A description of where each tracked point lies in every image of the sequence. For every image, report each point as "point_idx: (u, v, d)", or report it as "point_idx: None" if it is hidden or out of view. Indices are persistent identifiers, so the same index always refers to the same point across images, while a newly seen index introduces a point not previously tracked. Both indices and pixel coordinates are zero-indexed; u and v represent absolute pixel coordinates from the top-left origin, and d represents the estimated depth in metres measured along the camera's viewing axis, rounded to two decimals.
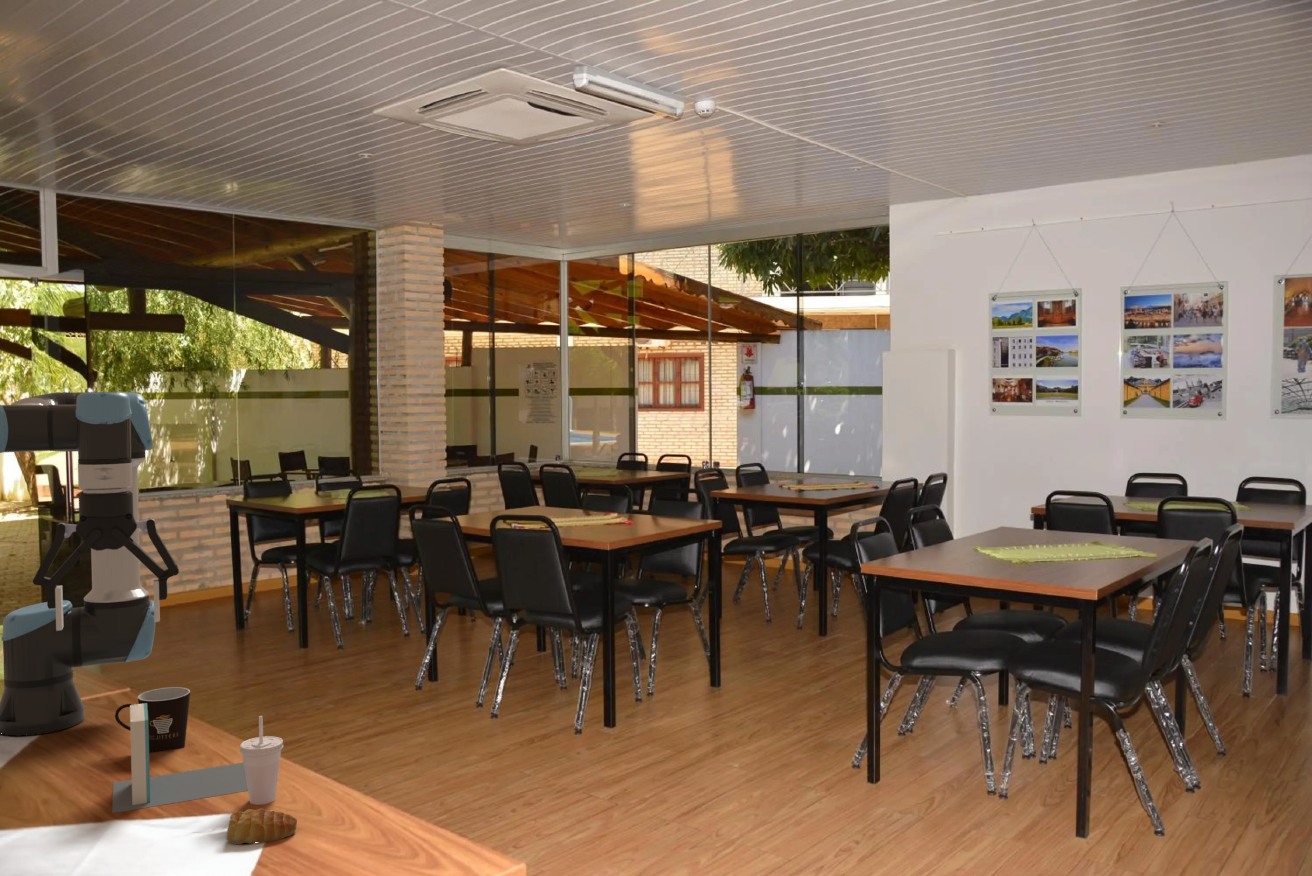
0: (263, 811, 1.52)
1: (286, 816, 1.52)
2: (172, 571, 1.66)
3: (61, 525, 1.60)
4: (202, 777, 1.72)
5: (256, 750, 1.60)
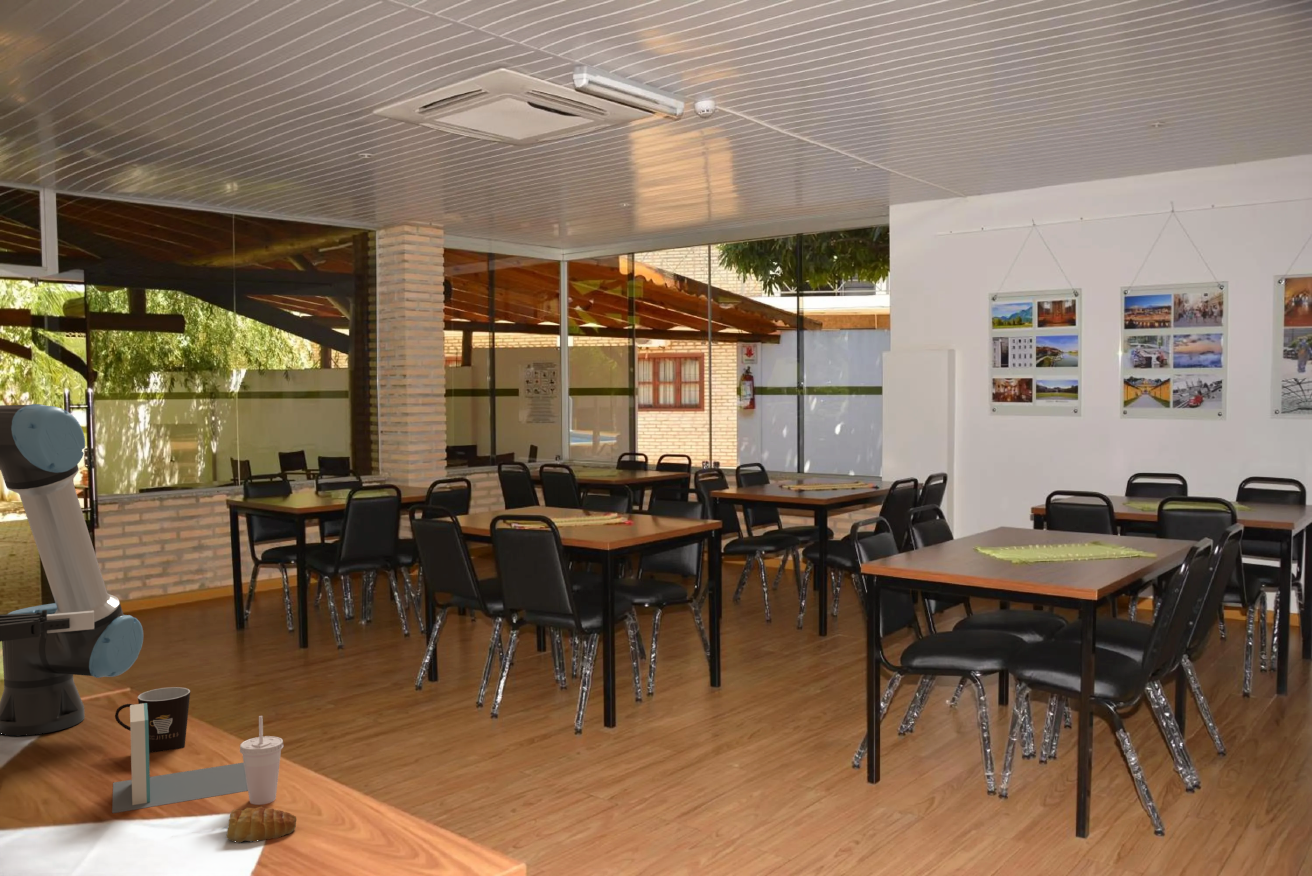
0: (262, 809, 1.53)
1: (286, 814, 1.53)
2: None
3: None
4: (202, 777, 1.72)
5: (256, 750, 1.60)
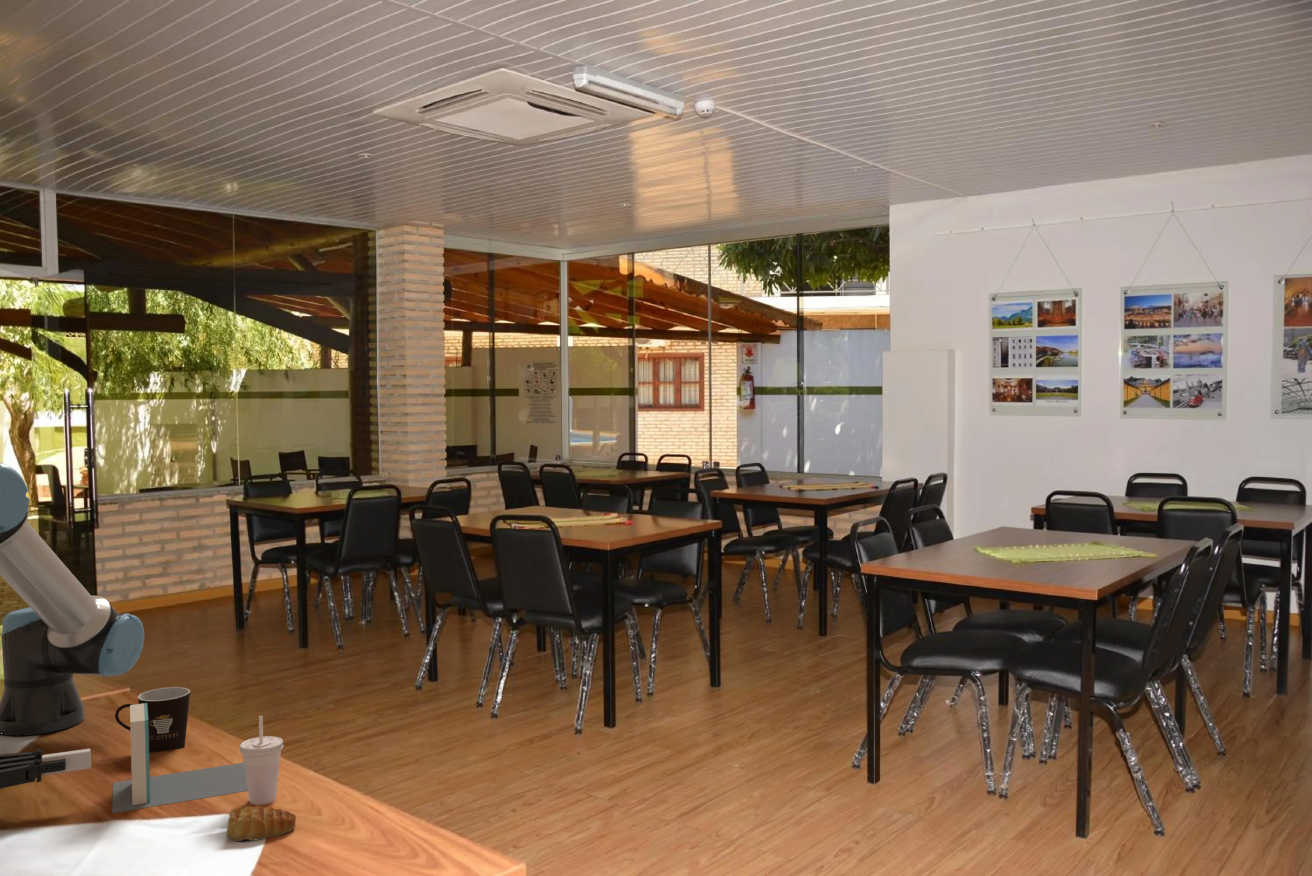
0: (262, 808, 1.53)
1: (285, 812, 1.53)
2: None
3: None
4: (202, 777, 1.72)
5: (256, 750, 1.60)
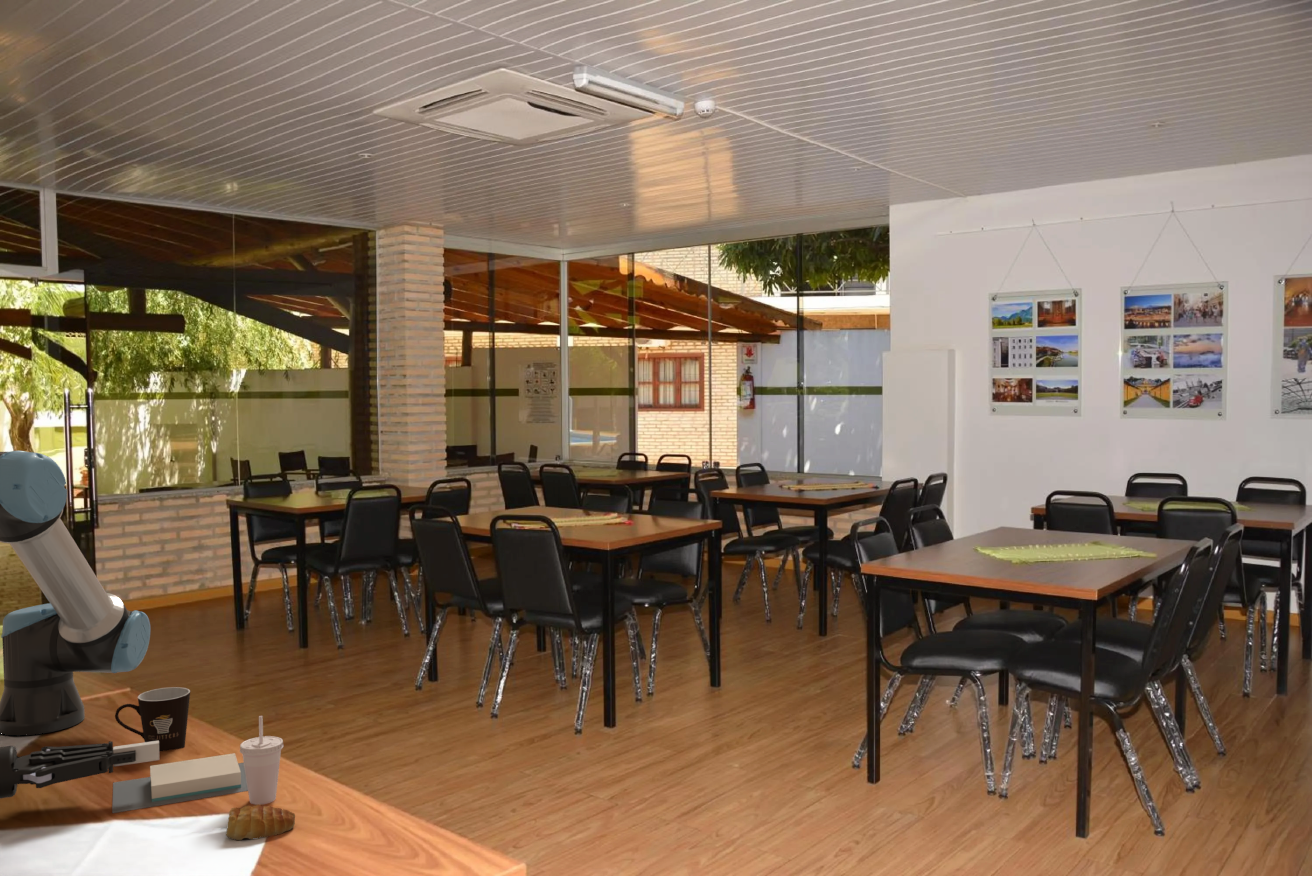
0: (261, 807, 1.53)
1: (284, 811, 1.54)
2: None
3: None
4: None
5: (256, 750, 1.60)
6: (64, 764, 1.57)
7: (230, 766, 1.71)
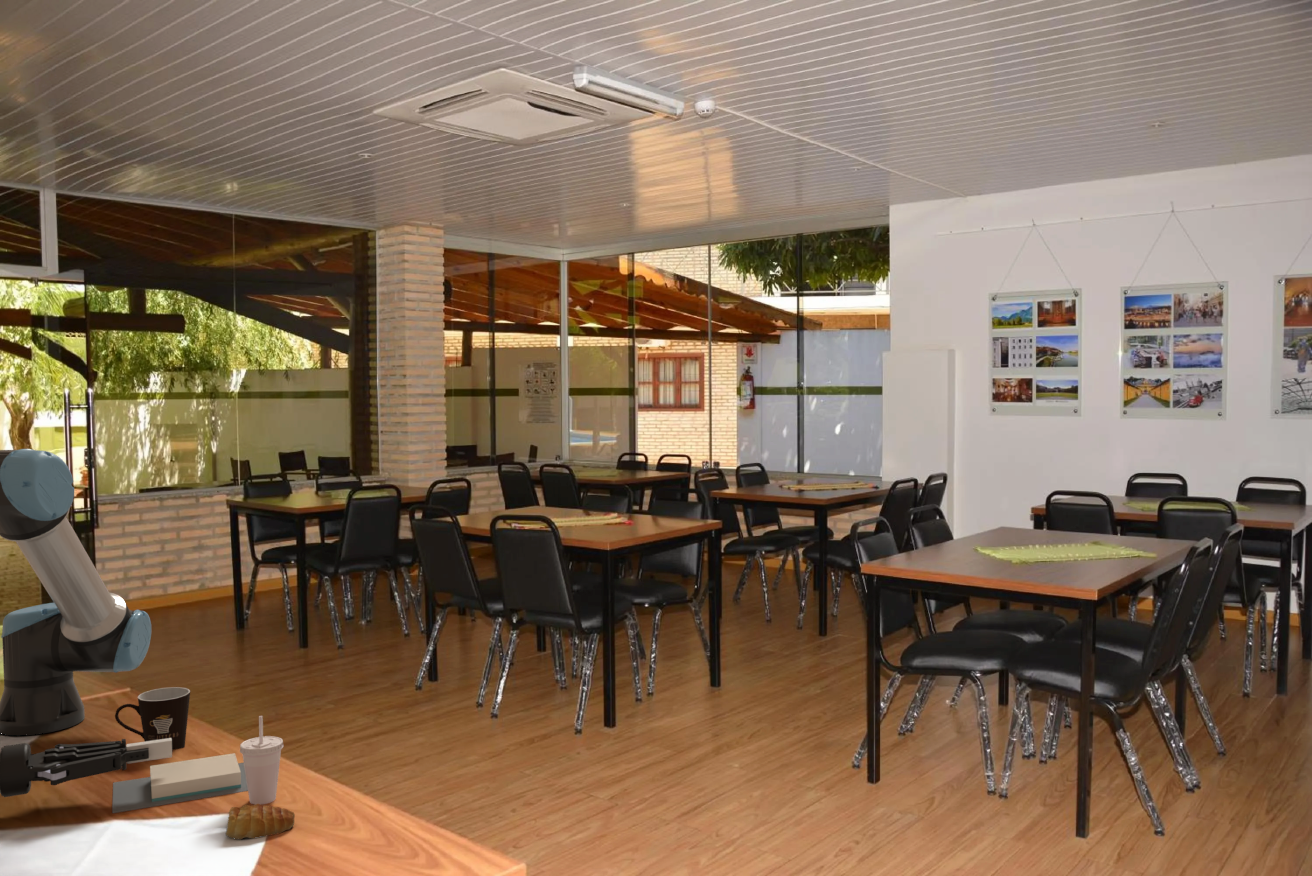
0: (261, 806, 1.54)
1: (284, 810, 1.54)
2: None
3: None
4: None
5: (256, 750, 1.60)
6: (78, 761, 1.58)
7: (230, 766, 1.71)
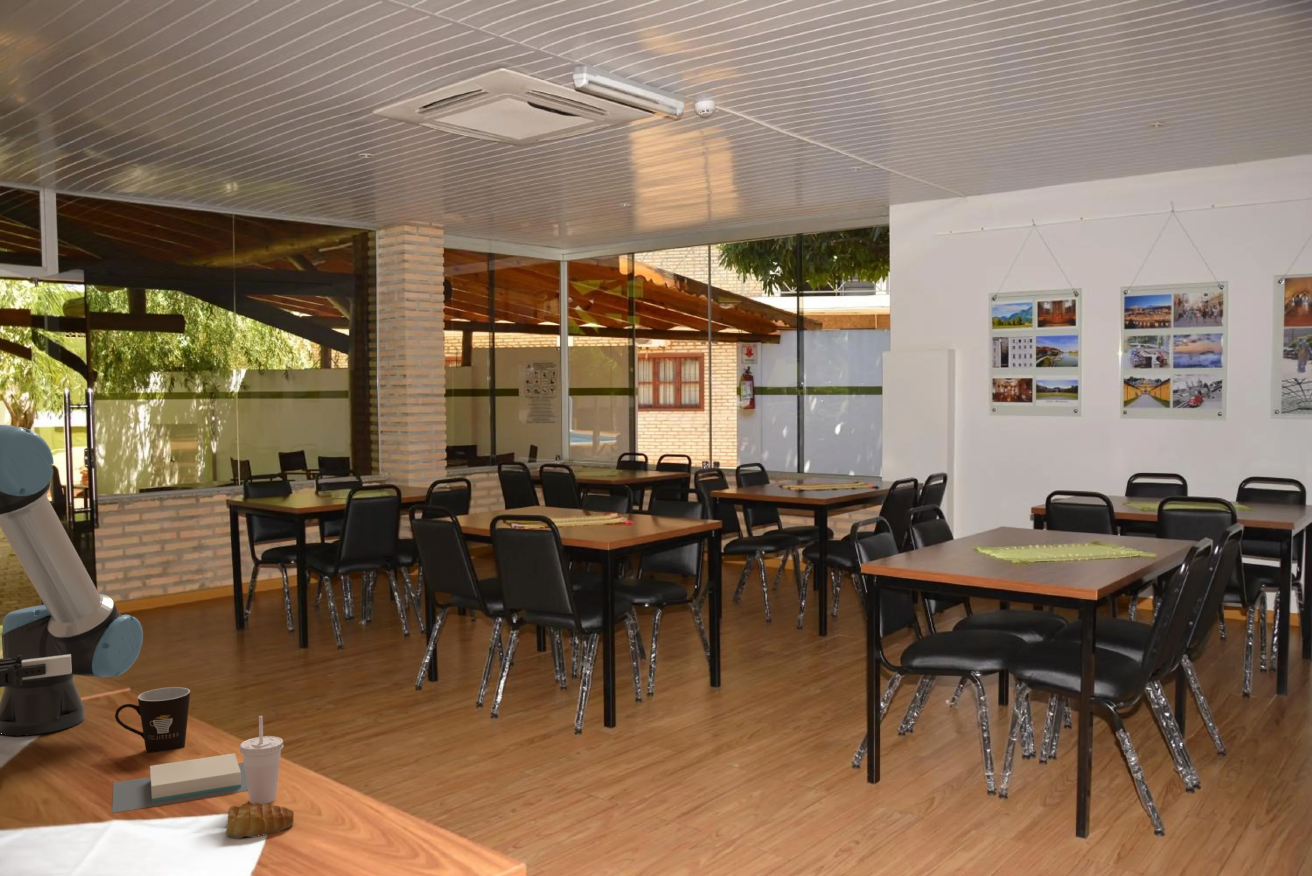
0: (260, 805, 1.54)
1: (283, 809, 1.55)
2: None
3: None
4: None
5: (256, 750, 1.60)
6: None
7: (230, 766, 1.71)
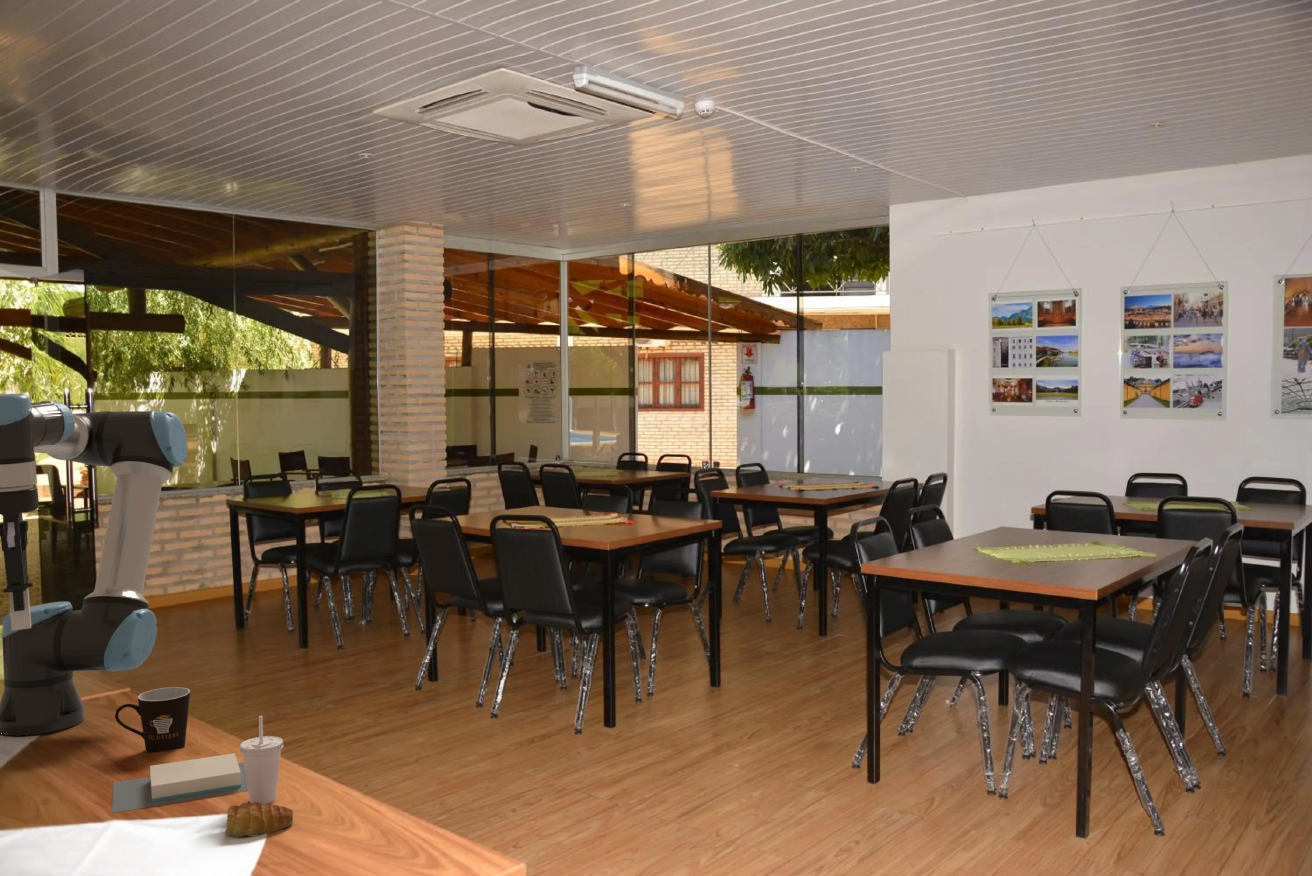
0: (259, 804, 1.54)
1: (283, 808, 1.55)
2: (7, 585, 1.69)
3: None
4: None
5: (256, 750, 1.60)
6: (22, 555, 1.68)
7: (230, 766, 1.71)
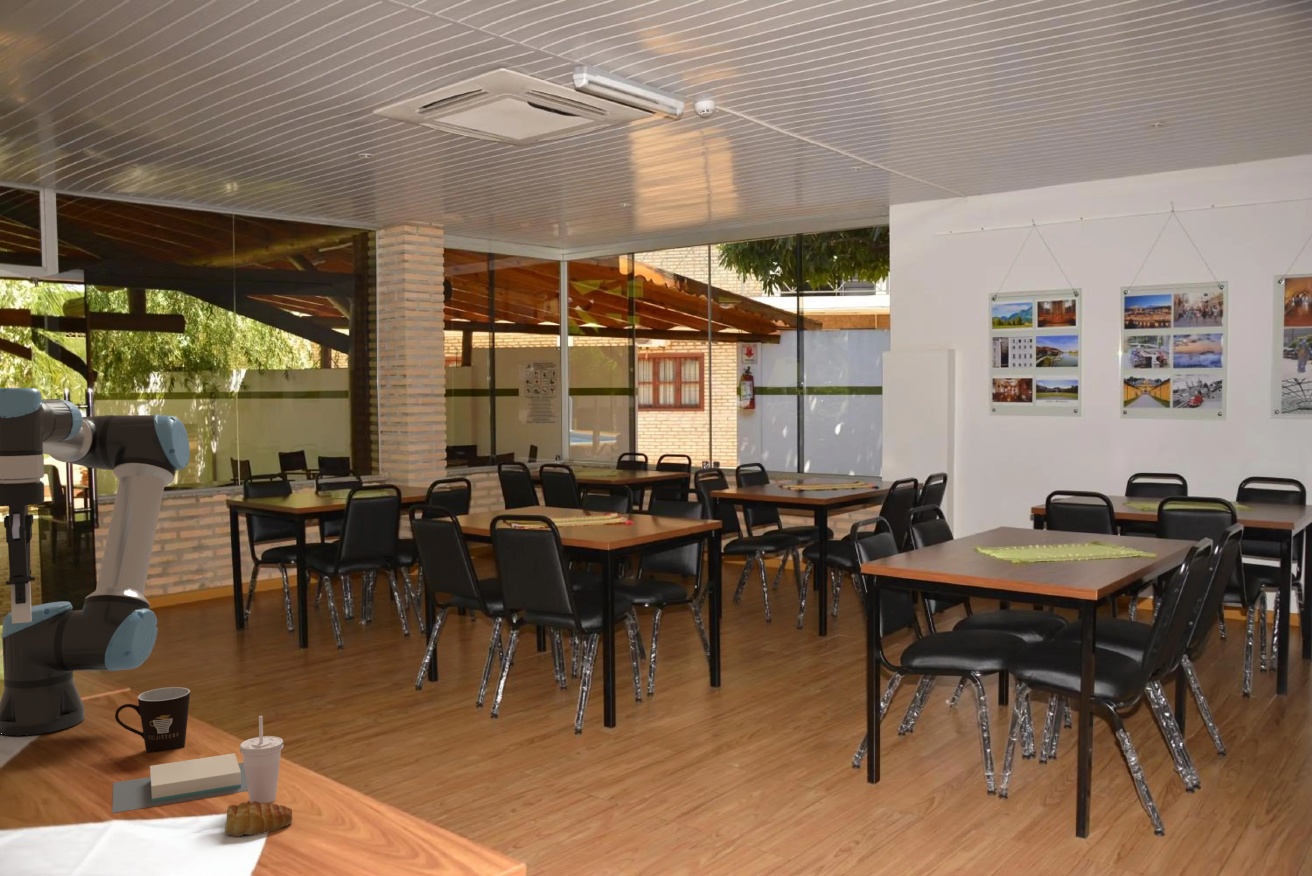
0: (258, 803, 1.55)
1: (282, 807, 1.56)
2: (10, 577, 1.70)
3: None
4: None
5: (256, 750, 1.60)
6: (25, 547, 1.69)
7: (230, 766, 1.71)
